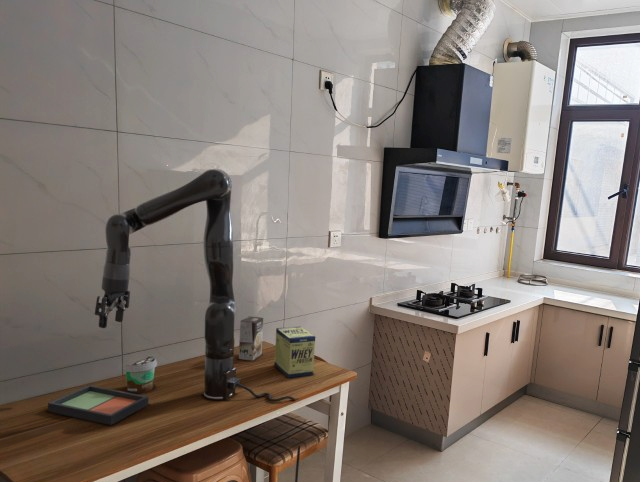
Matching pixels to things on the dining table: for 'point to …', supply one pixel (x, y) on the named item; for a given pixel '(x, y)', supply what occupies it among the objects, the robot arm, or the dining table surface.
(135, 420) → the dining table surface
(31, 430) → the dining table surface
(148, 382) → the food container
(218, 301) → the robot arm
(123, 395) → the sorting tray
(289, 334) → the protein box
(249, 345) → the coffee box
